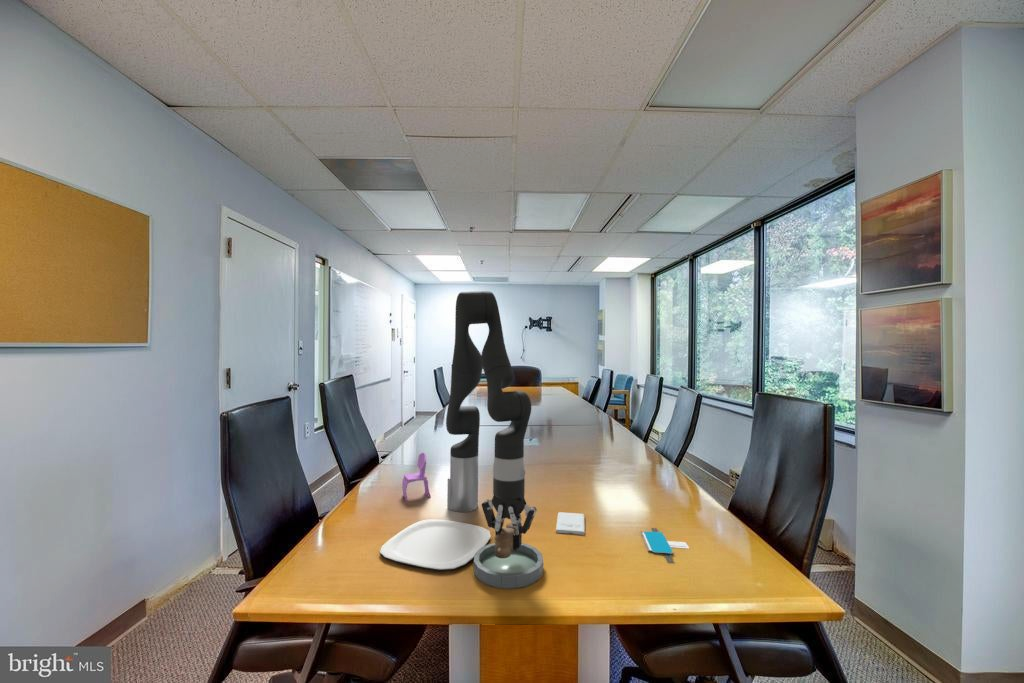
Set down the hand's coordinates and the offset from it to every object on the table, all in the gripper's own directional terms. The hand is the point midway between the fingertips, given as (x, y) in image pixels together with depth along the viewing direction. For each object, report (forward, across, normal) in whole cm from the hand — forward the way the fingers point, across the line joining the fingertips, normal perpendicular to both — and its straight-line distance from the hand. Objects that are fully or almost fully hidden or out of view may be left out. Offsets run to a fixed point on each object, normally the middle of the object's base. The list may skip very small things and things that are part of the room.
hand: (508, 546), depth 99 cm
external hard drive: (+6, +8, +31) cm, 32 cm away
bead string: (0, 0, 0) cm, 0 cm away
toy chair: (+5, -48, +32) cm, 58 cm away
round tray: (+5, 0, 0) cm, 5 cm away
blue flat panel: (+6, +34, +28) cm, 45 cm away
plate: (+6, -22, +4) cm, 23 cm away
